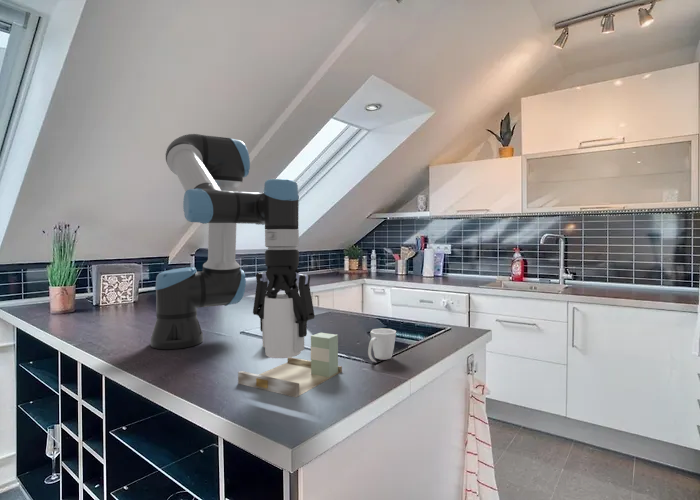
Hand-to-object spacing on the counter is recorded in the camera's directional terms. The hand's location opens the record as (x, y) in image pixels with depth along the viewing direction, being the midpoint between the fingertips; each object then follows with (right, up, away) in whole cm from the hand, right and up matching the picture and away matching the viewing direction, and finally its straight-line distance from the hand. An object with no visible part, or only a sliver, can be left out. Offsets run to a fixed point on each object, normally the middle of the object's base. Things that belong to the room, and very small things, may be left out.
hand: (283, 348), depth 92 cm
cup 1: (0, -3, 0) cm, 3 cm away
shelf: (+2, -8, +2) cm, 8 cm away
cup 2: (+23, -8, +15) cm, 29 cm away
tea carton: (+9, -7, +4) cm, 12 cm away
